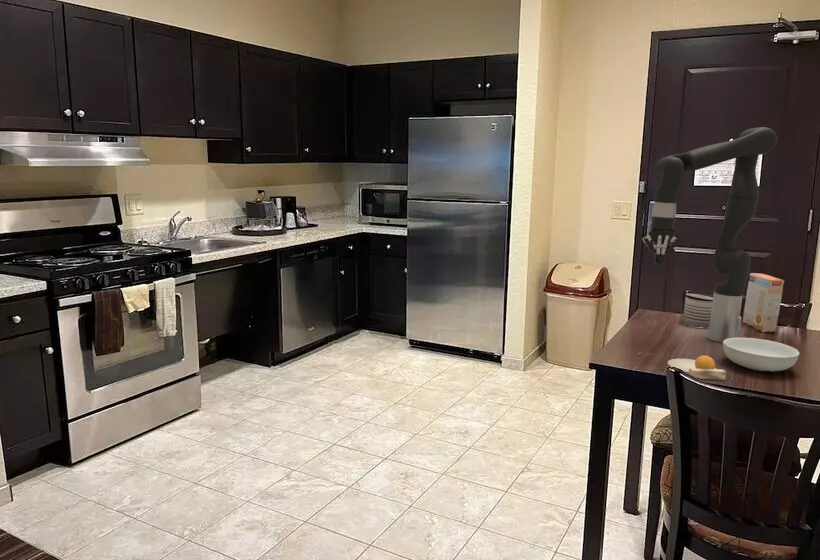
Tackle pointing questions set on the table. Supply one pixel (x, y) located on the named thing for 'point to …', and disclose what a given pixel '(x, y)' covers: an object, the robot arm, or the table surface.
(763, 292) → the cracker box
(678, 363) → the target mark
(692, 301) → the can
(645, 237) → the robot arm
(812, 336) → the table surface
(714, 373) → the stopper strip
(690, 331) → the table surface
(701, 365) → the ball
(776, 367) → the serving bowl
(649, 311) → the table surface
